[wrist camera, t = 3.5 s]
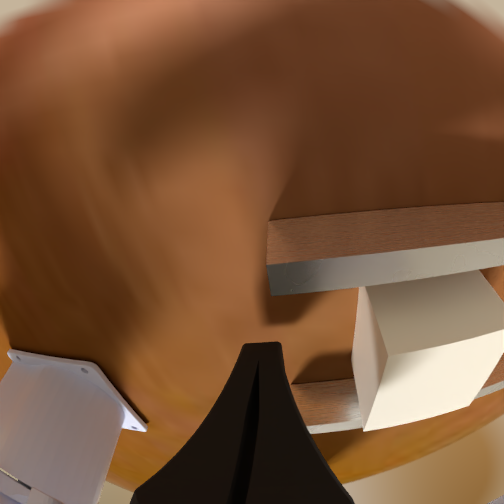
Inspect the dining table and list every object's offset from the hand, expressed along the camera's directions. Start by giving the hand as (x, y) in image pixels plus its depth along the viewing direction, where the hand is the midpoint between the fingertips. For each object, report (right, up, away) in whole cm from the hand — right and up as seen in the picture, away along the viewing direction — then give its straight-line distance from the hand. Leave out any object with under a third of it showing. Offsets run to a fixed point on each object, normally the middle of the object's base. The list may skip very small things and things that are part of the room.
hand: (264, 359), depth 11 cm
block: (+6, +1, +1) cm, 6 cm away
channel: (+7, +1, 0) cm, 7 cm away
